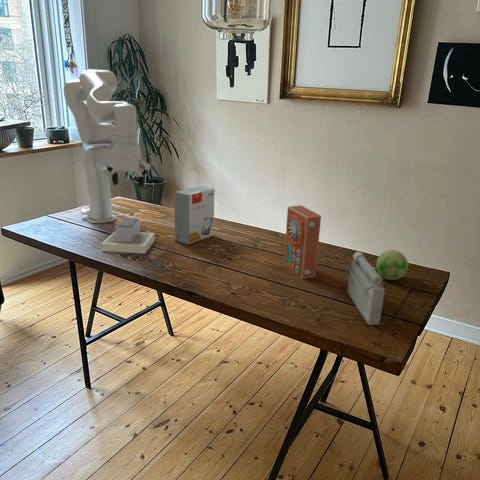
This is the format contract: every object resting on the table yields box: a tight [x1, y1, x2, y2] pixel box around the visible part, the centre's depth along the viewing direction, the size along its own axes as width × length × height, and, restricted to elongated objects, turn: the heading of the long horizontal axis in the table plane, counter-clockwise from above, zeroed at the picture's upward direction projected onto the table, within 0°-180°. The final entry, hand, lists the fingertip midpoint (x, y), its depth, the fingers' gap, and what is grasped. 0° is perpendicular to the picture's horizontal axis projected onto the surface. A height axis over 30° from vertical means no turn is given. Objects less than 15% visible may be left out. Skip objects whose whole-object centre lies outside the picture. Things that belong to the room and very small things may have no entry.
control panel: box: [283, 205, 322, 280], centre depth 152 cm, size 21×7×15 cm
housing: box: [115, 217, 142, 243], centre depth 171 cm, size 10×6×6 cm, turn 174°
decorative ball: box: [376, 249, 409, 281], centre depth 150 cm, size 10×10×10 cm
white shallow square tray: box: [101, 230, 156, 255], centre depth 172 cm, size 16×14×3 cm
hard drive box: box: [173, 185, 215, 246], centre depth 179 cm, size 16×8×20 cm, turn 143°
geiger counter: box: [345, 251, 386, 326], centre depth 132 cm, size 14×6×25 cm
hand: (128, 185), depth 171 cm, fingers open, 9 cm apart
